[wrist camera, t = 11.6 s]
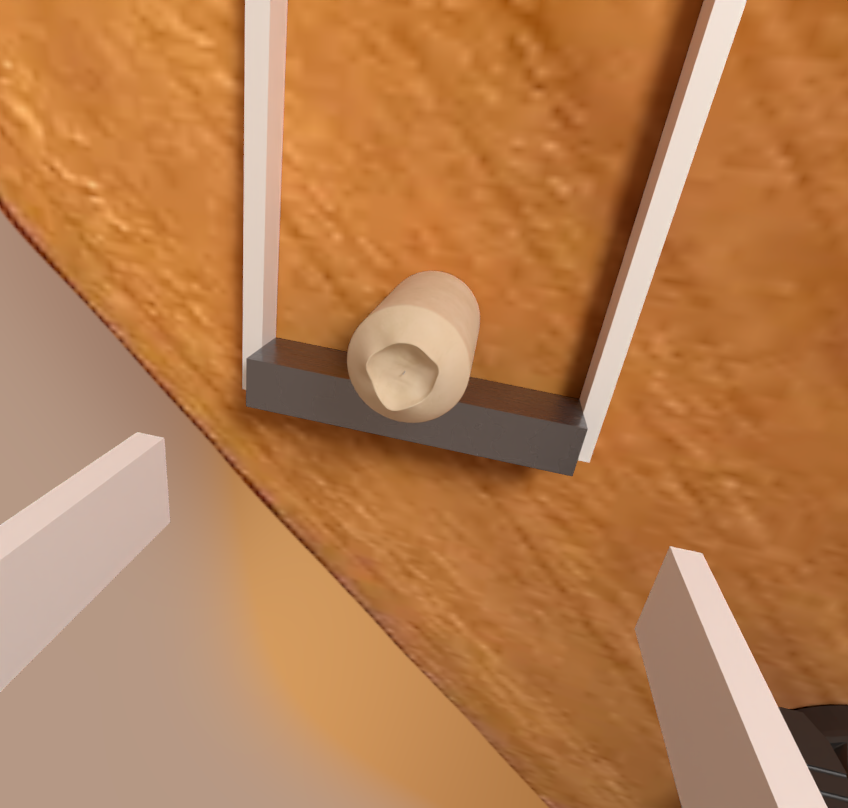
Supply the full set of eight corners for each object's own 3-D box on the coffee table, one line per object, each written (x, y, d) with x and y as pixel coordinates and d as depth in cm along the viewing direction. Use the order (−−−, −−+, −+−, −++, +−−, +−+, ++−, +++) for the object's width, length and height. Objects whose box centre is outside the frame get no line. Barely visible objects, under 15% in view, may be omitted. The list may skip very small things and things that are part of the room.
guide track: (585, 446, 33) (594, 480, 29) (256, 377, 34) (226, 401, 31) (755, -67, 22) (802, -113, 18) (266, -132, 24) (222, -186, 20)
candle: (454, 376, 32) (432, 458, 23) (373, 336, 32) (318, 403, 23) (497, 296, 30) (491, 352, 21) (410, 252, 30) (365, 289, 20)
